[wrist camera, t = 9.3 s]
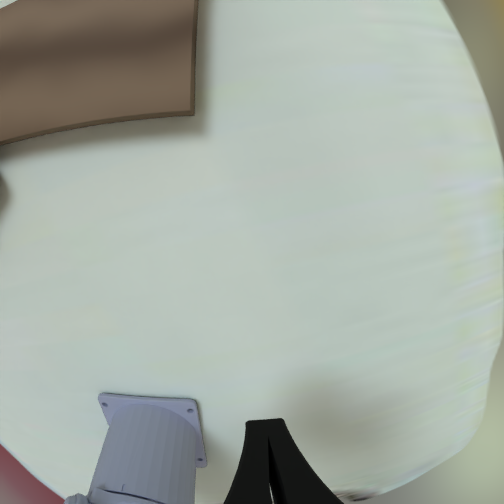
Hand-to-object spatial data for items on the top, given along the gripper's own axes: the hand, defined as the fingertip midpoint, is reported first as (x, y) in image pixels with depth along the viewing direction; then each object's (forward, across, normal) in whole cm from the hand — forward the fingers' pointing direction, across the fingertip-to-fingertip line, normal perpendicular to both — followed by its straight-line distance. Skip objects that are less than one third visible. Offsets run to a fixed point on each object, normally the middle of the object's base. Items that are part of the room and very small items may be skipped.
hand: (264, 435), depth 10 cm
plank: (+10, +18, -18) cm, 27 cm away
